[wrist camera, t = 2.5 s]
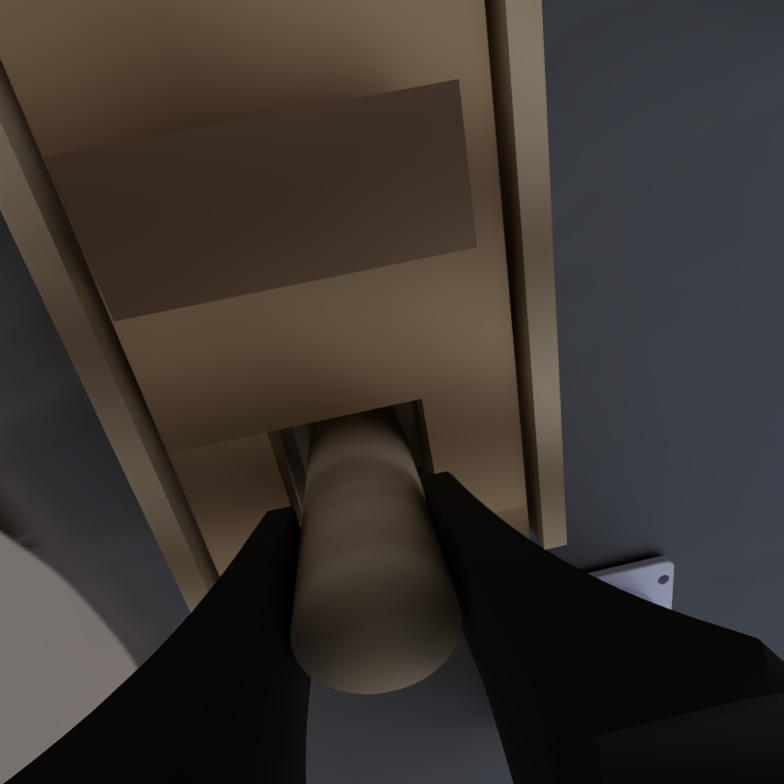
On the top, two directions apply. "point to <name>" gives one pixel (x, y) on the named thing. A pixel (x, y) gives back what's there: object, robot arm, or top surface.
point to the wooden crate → (162, 487)
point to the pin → (369, 563)
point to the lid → (285, 226)
